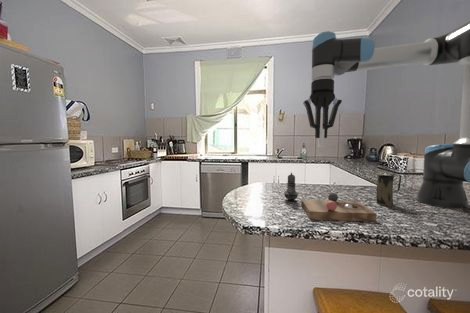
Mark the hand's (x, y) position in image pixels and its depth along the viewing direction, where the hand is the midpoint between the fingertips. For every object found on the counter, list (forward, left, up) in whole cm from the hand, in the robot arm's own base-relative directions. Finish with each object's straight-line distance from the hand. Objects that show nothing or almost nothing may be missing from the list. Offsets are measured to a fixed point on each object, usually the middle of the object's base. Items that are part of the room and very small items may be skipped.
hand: (320, 147), depth 81 cm
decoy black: (-5, 0, -18) cm, 19 cm away
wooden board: (-4, +5, -22) cm, 23 cm away
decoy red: (-1, +10, -18) cm, 21 cm away
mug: (-28, -8, -23) cm, 37 cm away
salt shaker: (+9, -8, -23) cm, 26 cm away
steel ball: (-8, +5, -21) cm, 23 cm away
